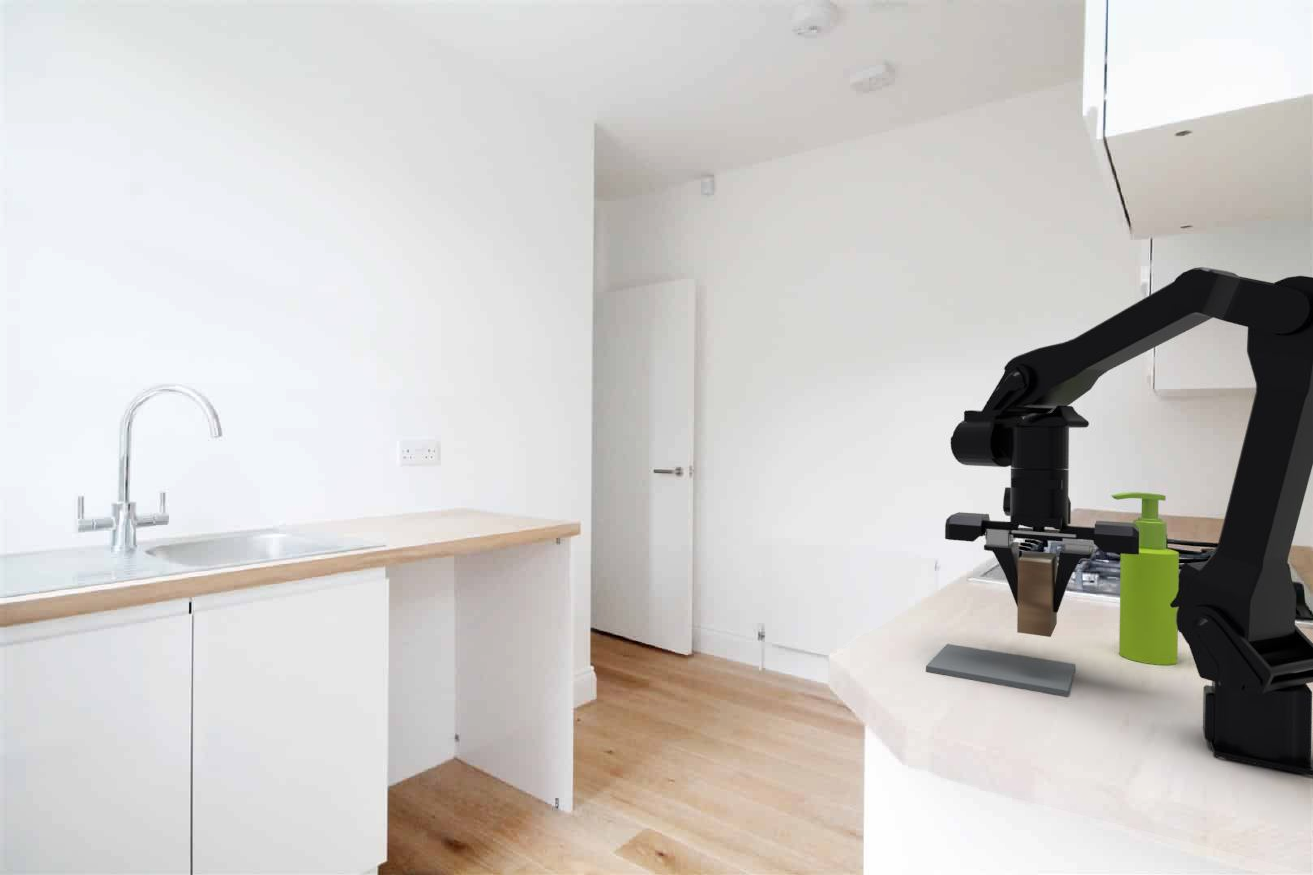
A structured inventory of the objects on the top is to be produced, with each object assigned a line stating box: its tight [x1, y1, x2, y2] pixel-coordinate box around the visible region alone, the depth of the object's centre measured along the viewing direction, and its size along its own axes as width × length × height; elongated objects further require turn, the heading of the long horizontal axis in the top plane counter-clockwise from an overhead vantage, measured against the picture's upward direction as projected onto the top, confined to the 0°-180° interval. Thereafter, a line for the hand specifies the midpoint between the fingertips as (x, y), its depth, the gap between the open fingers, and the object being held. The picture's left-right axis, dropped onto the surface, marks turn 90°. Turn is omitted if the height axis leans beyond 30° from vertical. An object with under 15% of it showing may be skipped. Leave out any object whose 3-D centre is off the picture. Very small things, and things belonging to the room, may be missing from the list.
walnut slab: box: [1016, 550, 1059, 638], centre depth 82 cm, size 3×7×8 cm, turn 147°
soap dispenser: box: [1111, 491, 1180, 666], centre depth 90 cm, size 6×7×20 cm
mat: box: [925, 643, 1076, 698], centre depth 84 cm, size 14×11×1 cm
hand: (1037, 609), depth 82 cm, fingers closed on walnut slab, 3 cm apart
